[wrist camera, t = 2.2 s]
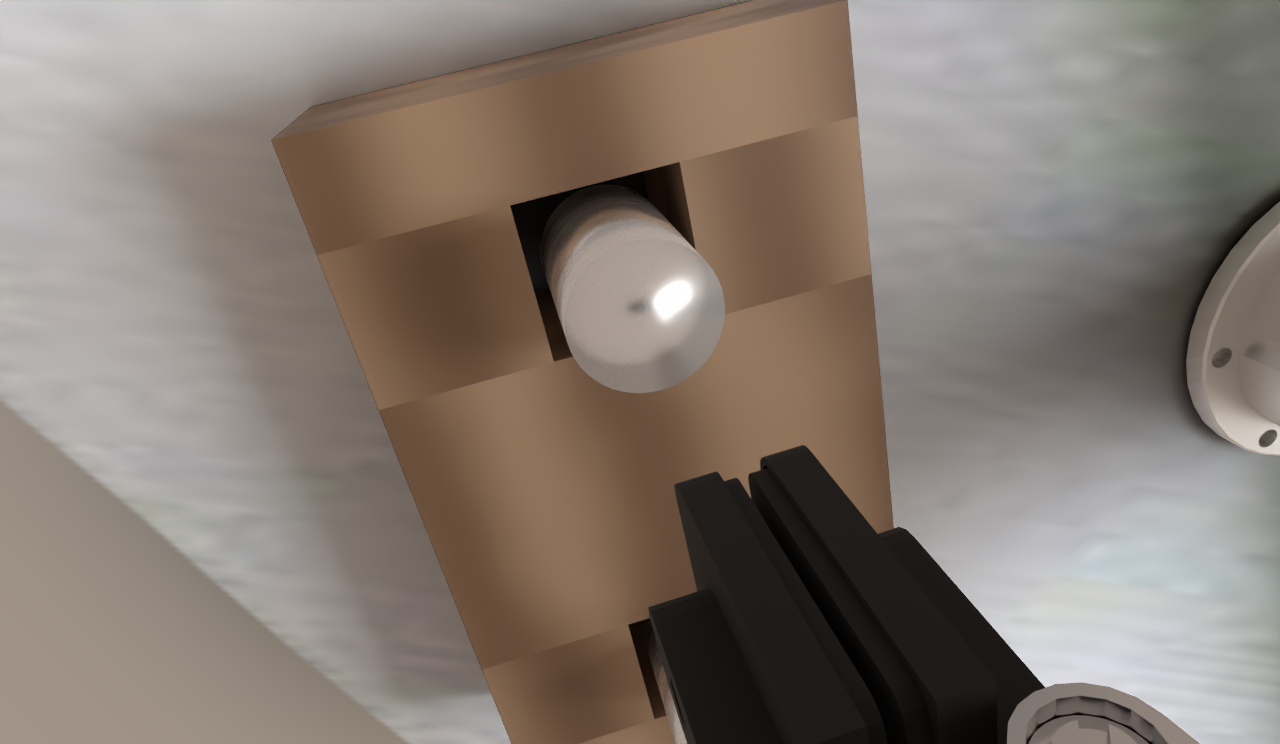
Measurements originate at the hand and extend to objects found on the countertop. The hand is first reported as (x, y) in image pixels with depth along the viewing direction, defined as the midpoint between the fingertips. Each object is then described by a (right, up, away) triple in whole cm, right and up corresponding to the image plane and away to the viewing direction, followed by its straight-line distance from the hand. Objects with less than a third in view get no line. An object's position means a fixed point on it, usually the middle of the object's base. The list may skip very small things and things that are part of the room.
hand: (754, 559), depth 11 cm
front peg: (-2, +6, +13) cm, 15 cm away
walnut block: (-2, +1, +20) cm, 20 cm away
